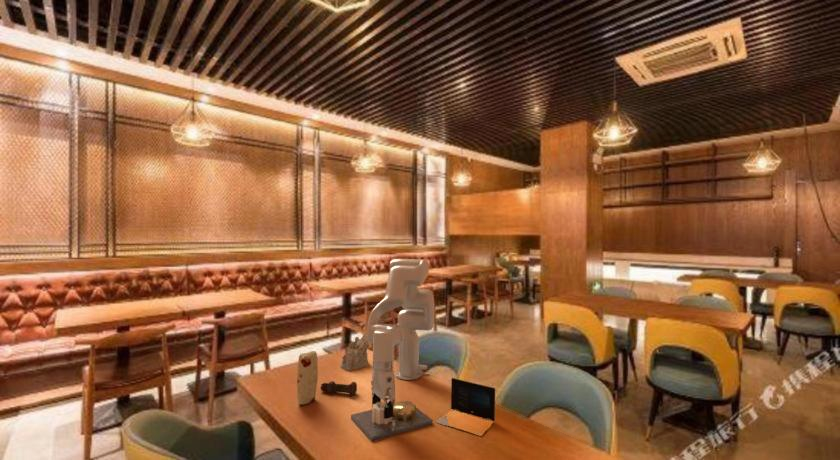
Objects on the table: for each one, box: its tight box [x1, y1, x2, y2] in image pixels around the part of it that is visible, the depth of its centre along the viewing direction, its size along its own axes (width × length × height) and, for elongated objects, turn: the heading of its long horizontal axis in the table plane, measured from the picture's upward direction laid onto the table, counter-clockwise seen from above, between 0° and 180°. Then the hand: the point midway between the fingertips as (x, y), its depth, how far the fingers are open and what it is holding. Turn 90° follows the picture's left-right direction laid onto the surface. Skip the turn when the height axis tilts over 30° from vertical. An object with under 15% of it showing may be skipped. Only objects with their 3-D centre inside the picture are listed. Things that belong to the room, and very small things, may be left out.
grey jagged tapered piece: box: [339, 335, 369, 371], centre depth 203 cm, size 16×16×15 cm
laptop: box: [435, 377, 496, 437], centre depth 144 cm, size 18×12×13 cm
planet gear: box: [371, 401, 392, 425], centre depth 142 cm, size 7×7×5 cm
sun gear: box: [393, 400, 417, 420], centre depth 146 cm, size 9×9×3 cm
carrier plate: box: [350, 400, 433, 443], centre depth 143 cm, size 24×18×7 cm
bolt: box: [320, 380, 358, 397], centre depth 167 cm, size 6×5×15 cm
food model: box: [296, 350, 319, 405], centre depth 158 cm, size 10×7×20 cm
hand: (382, 412), depth 141 cm, fingers open, 9 cm apart
